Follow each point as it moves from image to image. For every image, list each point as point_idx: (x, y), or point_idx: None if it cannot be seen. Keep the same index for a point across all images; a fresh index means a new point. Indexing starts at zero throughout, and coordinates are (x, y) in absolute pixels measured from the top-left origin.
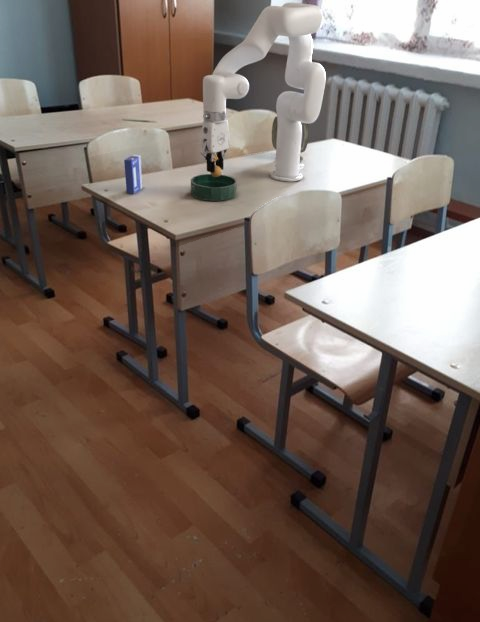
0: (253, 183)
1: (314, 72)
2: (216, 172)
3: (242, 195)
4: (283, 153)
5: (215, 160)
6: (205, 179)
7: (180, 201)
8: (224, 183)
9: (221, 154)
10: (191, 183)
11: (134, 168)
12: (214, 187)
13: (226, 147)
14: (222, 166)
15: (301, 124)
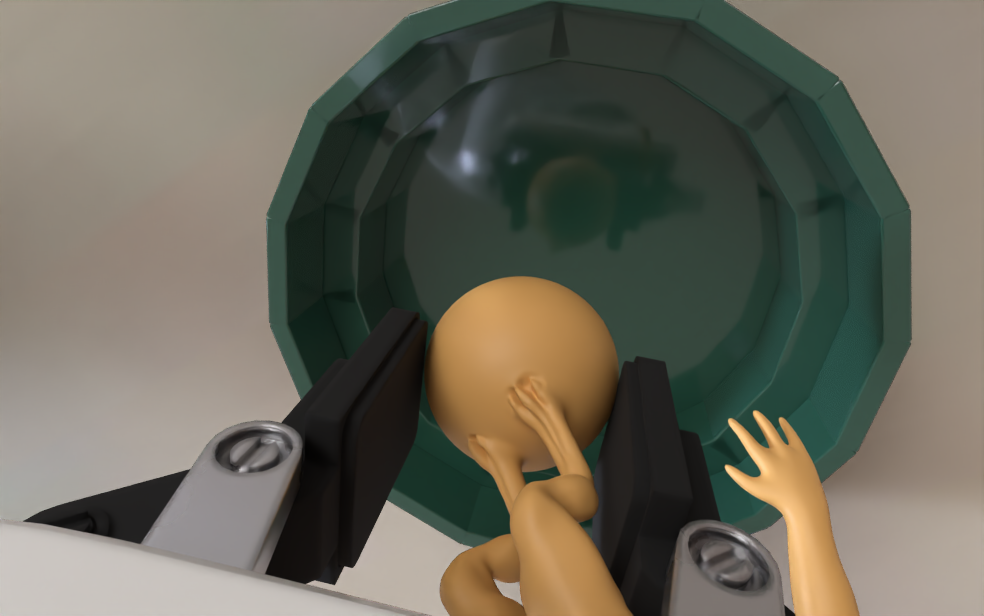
0: (13, 104)
1: None
2: (600, 332)
3: None
4: None
5: (556, 499)
6: (430, 465)
7: (964, 440)
8: (359, 266)
9: (280, 519)
10: (771, 510)
11: None
12: (872, 172)
13: (8, 583)
14: (401, 334)
15: None
